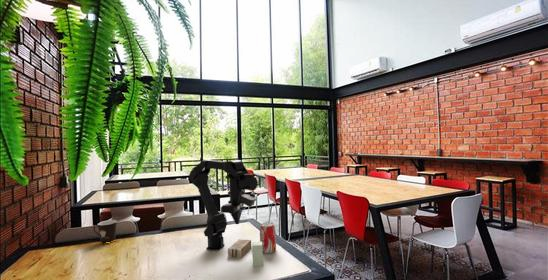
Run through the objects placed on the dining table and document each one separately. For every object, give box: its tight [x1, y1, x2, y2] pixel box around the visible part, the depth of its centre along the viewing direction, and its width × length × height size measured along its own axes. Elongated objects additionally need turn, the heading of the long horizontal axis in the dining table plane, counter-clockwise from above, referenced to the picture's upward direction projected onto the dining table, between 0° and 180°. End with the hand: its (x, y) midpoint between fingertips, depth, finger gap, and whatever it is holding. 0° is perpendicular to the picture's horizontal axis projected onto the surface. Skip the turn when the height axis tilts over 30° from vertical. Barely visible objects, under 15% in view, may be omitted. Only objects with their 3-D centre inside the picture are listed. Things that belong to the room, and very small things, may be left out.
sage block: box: [251, 241, 264, 267], centre depth 114 cm, size 4×4×8 cm
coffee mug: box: [92, 220, 118, 243], centre depth 150 cm, size 12×9×10 cm
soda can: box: [259, 222, 277, 254], centre depth 126 cm, size 7×7×12 cm
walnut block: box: [227, 239, 252, 259], centre depth 127 cm, size 6×4×12 cm
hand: (237, 224), depth 126 cm, fingers closed
